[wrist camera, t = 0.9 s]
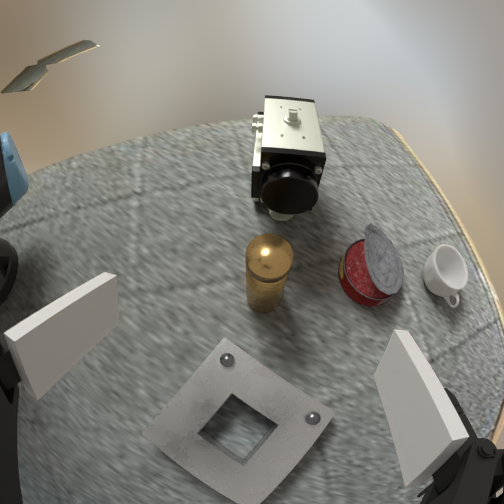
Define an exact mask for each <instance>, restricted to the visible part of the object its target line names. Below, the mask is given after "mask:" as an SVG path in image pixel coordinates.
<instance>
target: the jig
mask: <svg viewBox="0 0 504 504" xmlns="http://www.w3.org/2000/svg"><path fill="white" fill-rule="evenodd" d="M232 394H234V395H235V396H237V397H238V398H239V399H241V400H242V401H244V402H245V403H246V404H248V405H249V406H251V407H252V408H254V409H255V410H257V411H258V412H260V413H261V414H263V415H264V416H266V417H267V418H269V419H270V420H272V421H273V422H275V423H274V425H273V426H272V427H271V428H270V430H269V431H268V432H267V433H266V434H265V436H264V437H263V438H262V439H261V440H260V442H259V443H258V444H257V445H256V446H255V447H254V449H253V450H252V451H251V452H250V453H249V454H248V455H247V456H246V458H245V459H243V458H241V457H240V456H238V455H237V454H235V453H234V452H232V451H231V450H229V449H228V448H226V447H225V446H223V445H222V444H220V443H219V442H218V441H216V440H215V439H213V438H212V437H211V436H209V435H208V434H207V433H205V432H204V431H203V430H202V429H203V428H204V427H205V426H206V425H207V423H208V422H209V421H210V420H211V419H212V418H213V417H214V415H215V414H216V413H217V412H218V411H219V410H220V408H221V407H222V406H223V405H224V404H225V402H226V401H227V400H228V399H229V398H230V396H231V395H232ZM335 413H336V412H335V411H333V410H331V409H330V408H328V407H326V406H325V405H323V404H321V403H320V402H318V401H317V400H315V399H313V398H312V397H310V396H309V395H307V394H305V393H304V392H302V391H301V390H299V389H298V388H296V387H295V386H293V385H291V384H290V383H288V382H287V381H285V380H284V379H282V378H281V377H279V376H278V375H276V374H275V373H274V372H272V371H271V370H269V369H268V368H266V367H265V366H263V365H262V364H261V363H259V362H258V361H256V360H255V359H254V358H252V357H251V356H249V355H248V354H247V353H245V352H244V351H243V350H241V349H240V348H238V347H237V346H236V345H234V344H233V343H232V342H230V341H229V340H228V339H226V338H225V337H224V338H223V339H222V341H221V342H220V343H219V344H218V345H217V347H216V348H215V349H214V350H213V351H212V353H211V354H210V355H209V356H208V357H207V359H206V360H205V361H204V362H203V363H202V365H201V366H200V367H199V368H198V369H197V370H196V372H195V373H194V374H193V375H192V376H191V378H190V379H189V380H188V381H187V382H186V383H185V384H184V386H183V387H182V388H181V389H180V390H179V391H178V393H177V394H176V395H175V396H174V397H173V398H172V399H171V401H170V402H169V403H168V404H167V405H166V406H165V407H164V409H163V410H162V411H161V412H160V413H159V414H158V415H157V416H156V418H155V419H154V420H153V421H152V422H151V423H150V424H149V425H148V427H147V428H146V429H145V430H144V431H143V432H142V434H143V435H144V436H145V437H146V438H147V439H149V440H150V441H151V442H152V443H153V444H154V445H155V446H157V447H158V448H159V449H160V450H161V451H162V452H164V453H165V454H166V455H167V456H169V457H170V458H171V459H172V460H174V461H175V462H176V463H177V464H179V465H180V466H181V467H183V468H184V469H185V470H187V471H188V472H189V473H191V474H192V475H194V476H195V477H196V478H198V479H199V480H201V481H202V482H204V483H205V484H207V485H208V486H210V487H211V488H213V489H214V490H216V491H218V492H219V493H221V494H222V495H224V496H226V497H227V498H229V499H231V500H232V501H234V502H236V503H238V504H260V503H261V502H262V501H263V500H264V499H265V498H266V497H267V496H268V495H269V494H270V493H271V492H272V491H273V490H274V489H275V488H276V487H277V486H278V485H279V484H280V483H281V481H282V480H283V479H284V478H285V477H286V476H287V475H288V474H289V473H290V471H291V470H292V469H293V468H294V467H295V466H296V464H297V463H298V462H299V461H300V460H301V458H302V457H303V456H304V455H305V454H306V452H307V451H308V450H309V449H310V447H311V446H312V445H313V443H314V442H315V441H316V439H317V438H318V437H319V435H320V434H321V433H322V431H323V430H324V429H325V427H326V426H327V425H328V423H329V422H330V420H331V419H332V417H333V416H334V415H335Z"/></svg>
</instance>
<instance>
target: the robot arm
mask: <svg viewBox="0 0 504 504" xmlns="http://www.w3.org/2000/svg"><path fill="white" fill-rule="evenodd" d="M27 189H28V179H27V175H26V172H25V169H24V167H23V164H22V161H21V158H20V156H19V153H18V151H17V148H16V146H15V144H14V141H13V139H12V137H11V135H10V134H9V133H8V132H5V133H3V134H1V135H0V218H1V217H2V216H3V215H4V214H5V213H6V212H7V211H8V210H9V209H11V208H12V207H13V206H15V204H16V202H17V201H18V200H19V199H20V198H21V197H22V196H23V195H24V194H25V193H26V192H27ZM17 265H18V257H17V252H16V250H15V248H14V247H13V246H12V245H11V244H10V243H9V242H8V241H6V240H4V239H1V238H0V304H1V303H2V302H3V301H4V300H5V298H6V297H7V295H8V294H9V292H10V290H11V288H12V285H13V283H14V280H15V276H16V272H17ZM118 325H119V312H118V297H117V276H116V275H113V274H109V273H106V272H104V273H102V274H100V275H99V276H97V277H95V278H93V279H91V280H90V281H88V282H86V283H84V284H83V285H81V286H79V287H77V288H76V289H74V290H72V291H71V292H69V293H67V294H65V295H64V296H62V297H60V298H59V299H57V300H55V301H54V302H52V303H50V304H49V305H47V306H45V307H44V308H41V309H38V310H35V311H34V312H32V313H31V314H29V315H28V316H26V317H24V318H23V319H22V320H19V321H18V322H16V323H15V324H13V325H12V326H10V327H8V328H7V329H5V330H4V331H2V332H1V333H0V504H23V501H22V495H21V488H20V481H19V471H18V456H17V414H18V399H19V387H18V385H17V384H18V383H19V382H20V381H22V384H23V386H24V388H25V390H26V392H27V393H29V394H30V395H31V396H33V397H34V398H35V399H37V400H39V399H40V398H41V397H42V396H43V395H44V394H45V393H46V392H47V391H48V390H49V389H50V388H51V387H52V386H53V385H54V384H56V383H57V382H58V381H59V380H60V379H61V378H62V377H63V376H64V375H65V374H66V373H67V372H68V371H69V370H70V369H71V368H72V367H73V366H74V365H75V364H77V363H78V362H79V361H80V360H81V359H82V358H83V357H84V356H85V355H86V354H87V353H88V352H89V351H90V350H92V349H93V348H94V347H95V346H96V345H97V344H98V343H99V342H100V341H101V340H102V339H104V338H105V337H106V336H107V335H108V334H109V333H110V332H111V331H112V330H114V329H115V328H116V327H117V326H118ZM374 379H375V382H376V385H377V388H378V391H379V394H380V397H381V401H382V404H383V407H384V410H385V413H386V417H387V420H388V423H389V427H390V430H391V434H392V437H393V441H394V444H395V448H396V452H397V456H398V459H399V463H400V467H401V471H402V476H403V480H404V484H405V487H409V486H414V485H419V484H423V483H424V482H425V481H426V480H427V479H428V478H429V477H431V476H433V479H434V482H432V483H431V484H430V485H429V486H428V487H426V488H425V489H424V490H423V491H422V492H420V493H419V495H418V496H417V497H420V496H422V495H423V494H424V493H425V495H424V497H423V498H422V500H421V502H420V504H504V449H497V448H496V446H495V445H494V444H493V443H492V442H491V441H490V440H488V439H485V438H479V439H478V438H477V436H476V434H475V432H474V430H473V428H472V426H471V424H470V422H469V420H468V419H467V417H466V415H465V414H463V412H464V411H463V410H462V408H461V407H460V404H459V402H458V401H457V399H456V397H455V396H454V395H453V394H452V393H451V392H450V391H449V390H448V389H447V388H443V387H442V385H441V383H440V381H439V380H438V378H437V376H436V375H435V373H434V371H433V370H432V368H431V366H430V365H429V363H428V362H427V360H426V358H425V357H424V355H423V354H422V352H421V350H420V349H419V347H418V346H417V344H416V343H415V341H414V340H413V338H412V337H411V335H410V334H409V332H408V331H404V330H395V329H394V331H393V333H392V336H391V338H390V341H389V343H388V345H387V348H386V350H385V352H384V354H383V357H382V359H381V361H380V363H379V365H378V367H377V370H376V372H375V374H374ZM502 487H503V493H502V494H501V495H500V496H499V497H497V498H496V492H497V491H498V490H500V489H501V488H502Z"/></svg>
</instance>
